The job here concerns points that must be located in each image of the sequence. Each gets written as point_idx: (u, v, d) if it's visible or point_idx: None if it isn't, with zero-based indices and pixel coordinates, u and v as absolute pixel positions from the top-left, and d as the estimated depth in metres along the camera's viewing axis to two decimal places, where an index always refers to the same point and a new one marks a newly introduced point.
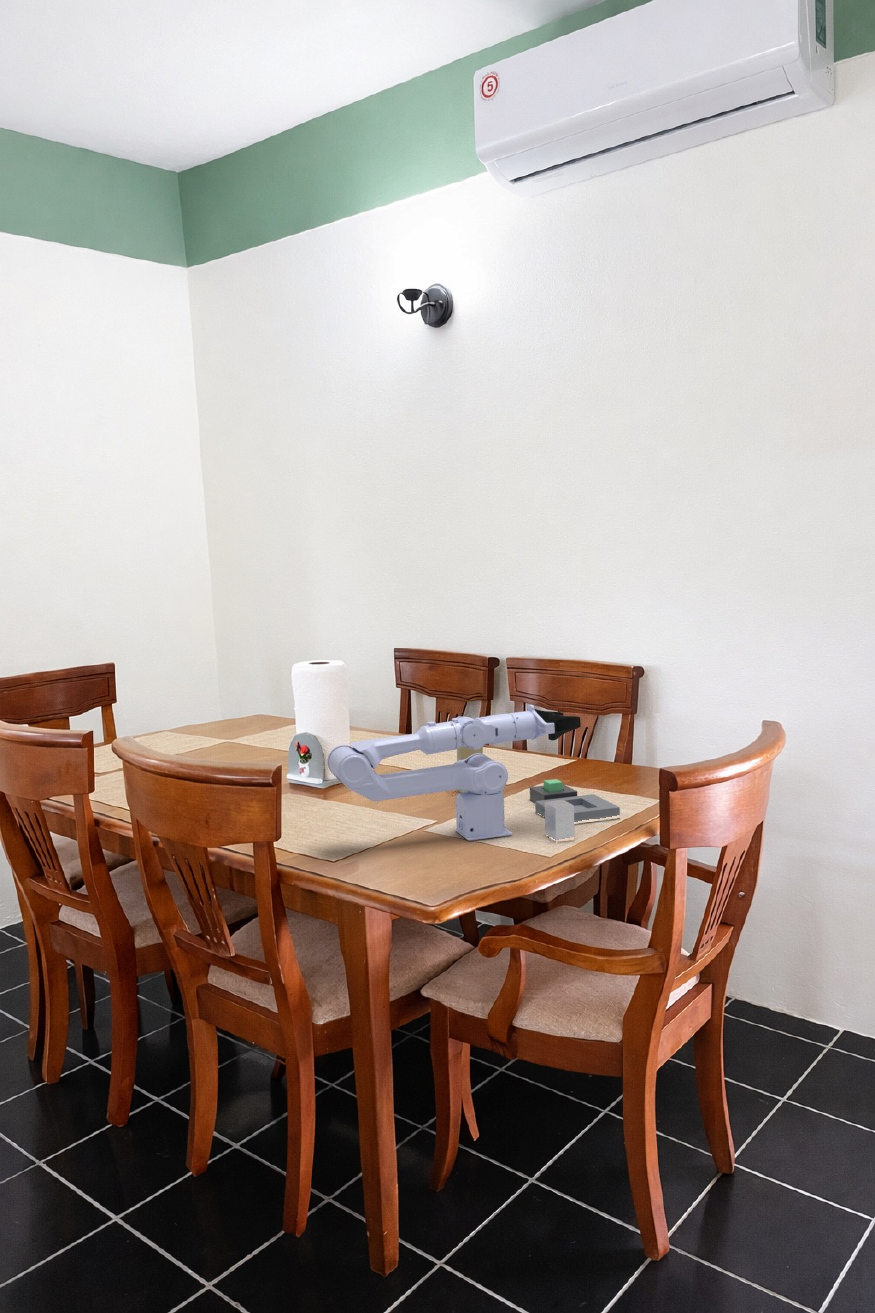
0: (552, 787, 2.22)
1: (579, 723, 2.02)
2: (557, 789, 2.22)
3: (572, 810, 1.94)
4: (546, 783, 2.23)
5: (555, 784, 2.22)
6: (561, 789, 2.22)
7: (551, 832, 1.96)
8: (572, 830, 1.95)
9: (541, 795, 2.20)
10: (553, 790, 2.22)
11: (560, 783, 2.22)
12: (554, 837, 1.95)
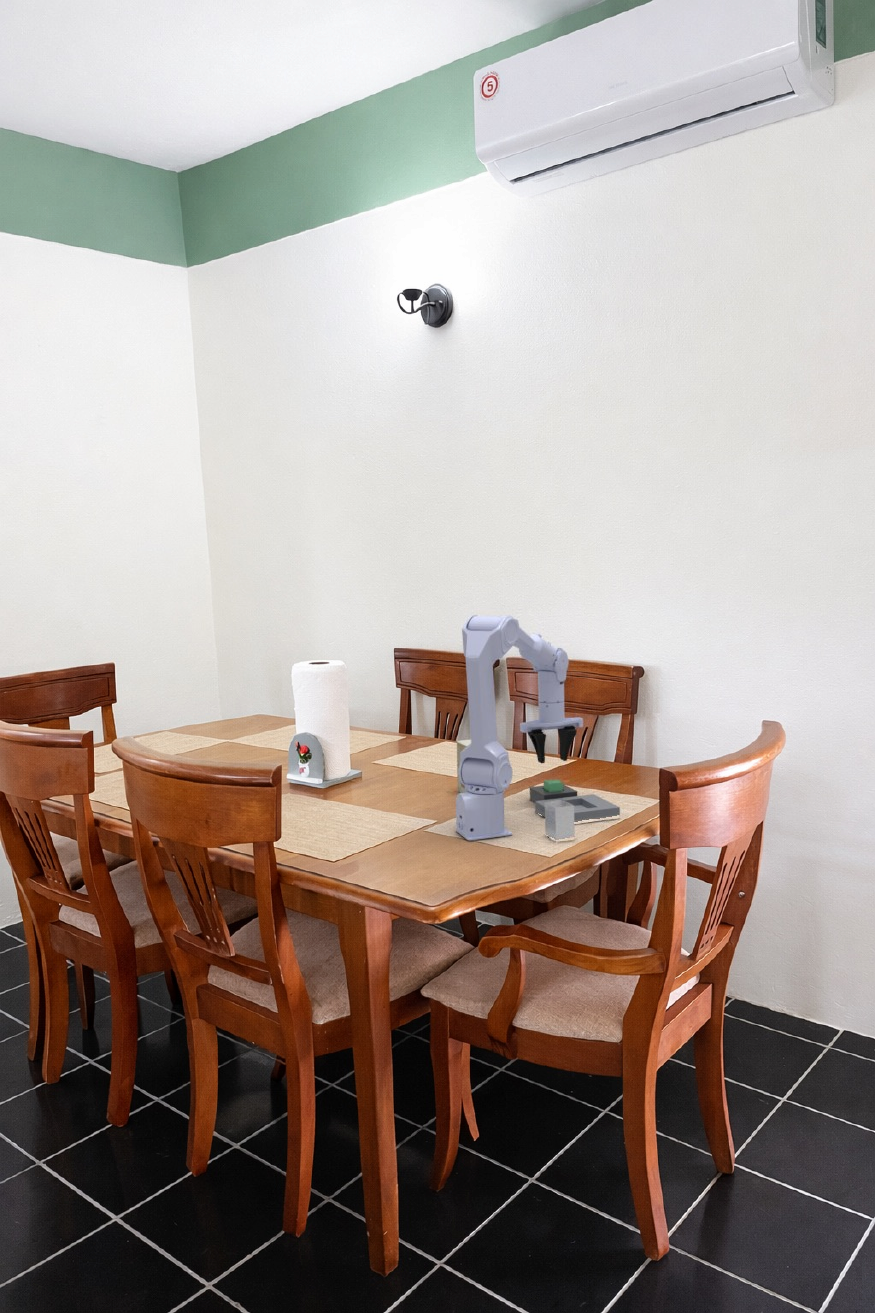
0: (552, 787, 2.22)
1: None
2: (557, 789, 2.22)
3: (572, 810, 1.95)
4: (546, 783, 2.23)
5: (555, 784, 2.22)
6: (561, 789, 2.22)
7: (551, 832, 1.96)
8: (572, 830, 1.95)
9: (541, 795, 2.20)
10: (553, 790, 2.22)
11: (560, 783, 2.22)
12: (554, 837, 1.95)
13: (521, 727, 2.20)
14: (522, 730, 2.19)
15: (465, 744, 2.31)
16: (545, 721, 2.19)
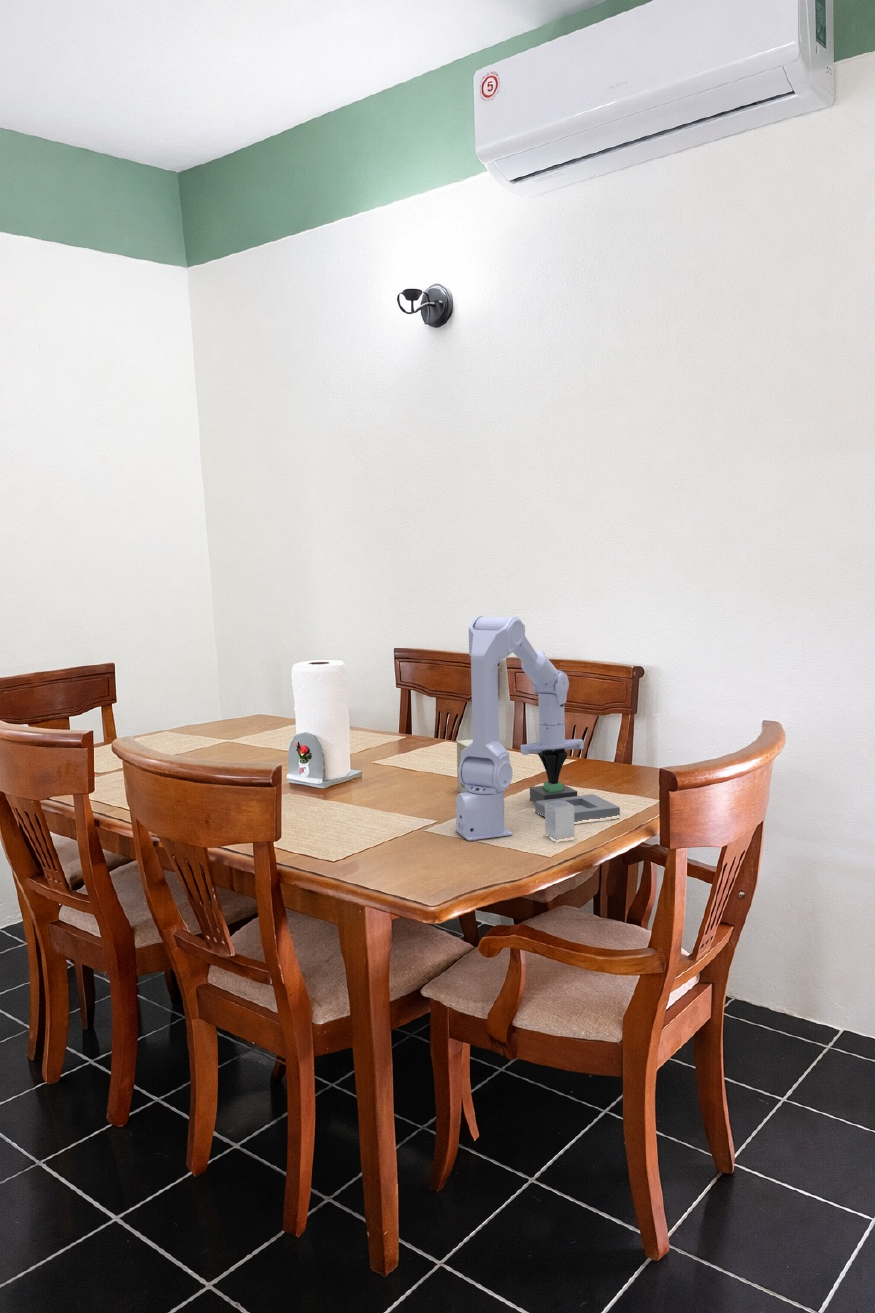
0: (552, 789, 2.22)
1: None
2: None
3: (572, 810, 1.94)
4: (546, 785, 2.23)
5: (555, 786, 2.22)
6: None
7: (551, 832, 1.96)
8: (572, 830, 1.95)
9: (541, 795, 2.20)
10: None
11: (560, 785, 2.22)
12: (554, 837, 1.95)
13: (522, 749, 2.20)
14: (523, 752, 2.20)
15: (465, 744, 2.31)
16: (546, 743, 2.20)
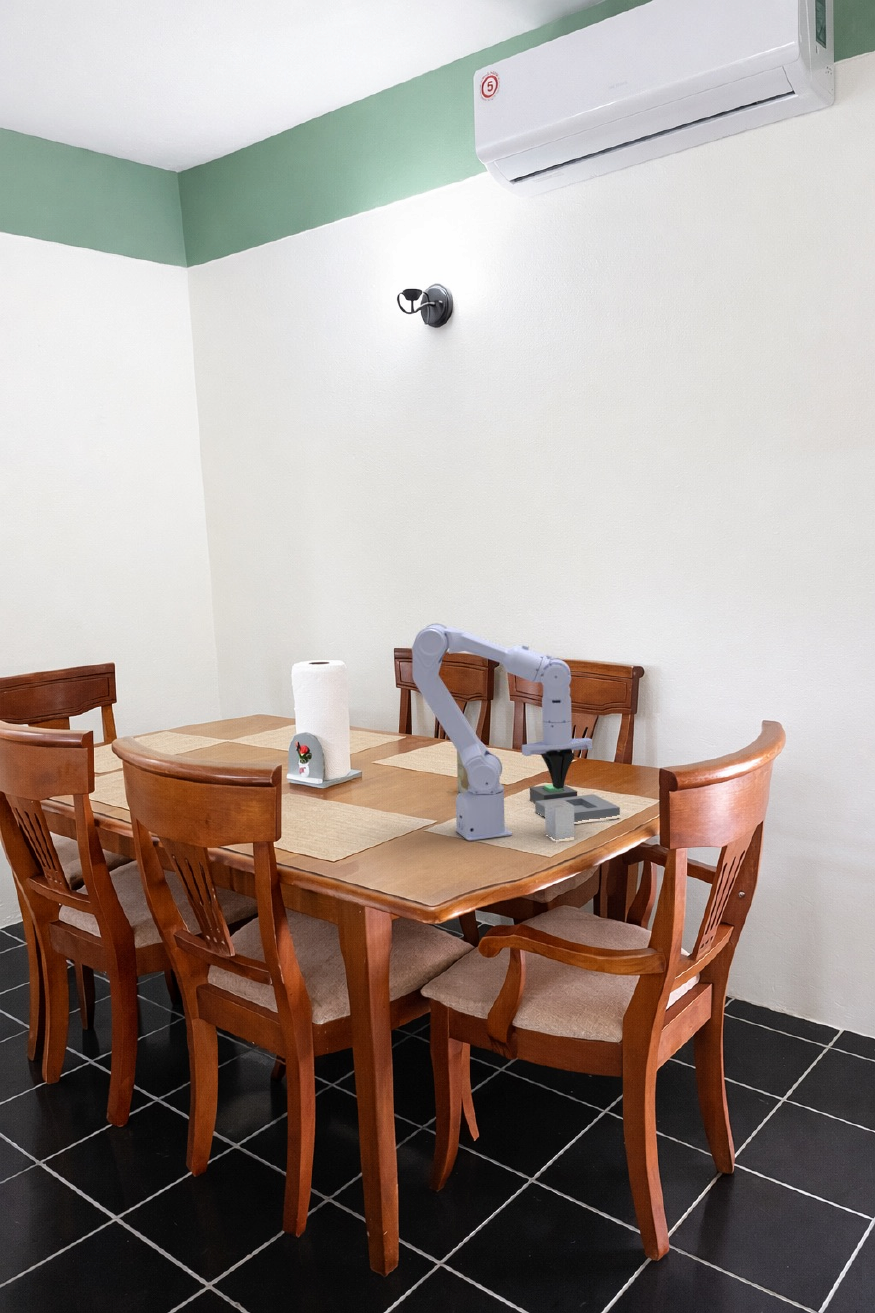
0: None
1: None
2: None
3: (572, 810, 1.94)
4: (546, 788, 2.23)
5: (555, 789, 2.22)
6: None
7: (551, 832, 1.96)
8: (572, 830, 1.95)
9: (541, 795, 2.20)
10: None
11: None
12: (554, 837, 1.95)
13: (523, 750, 1.96)
14: (524, 753, 1.95)
15: None
16: (550, 743, 1.96)
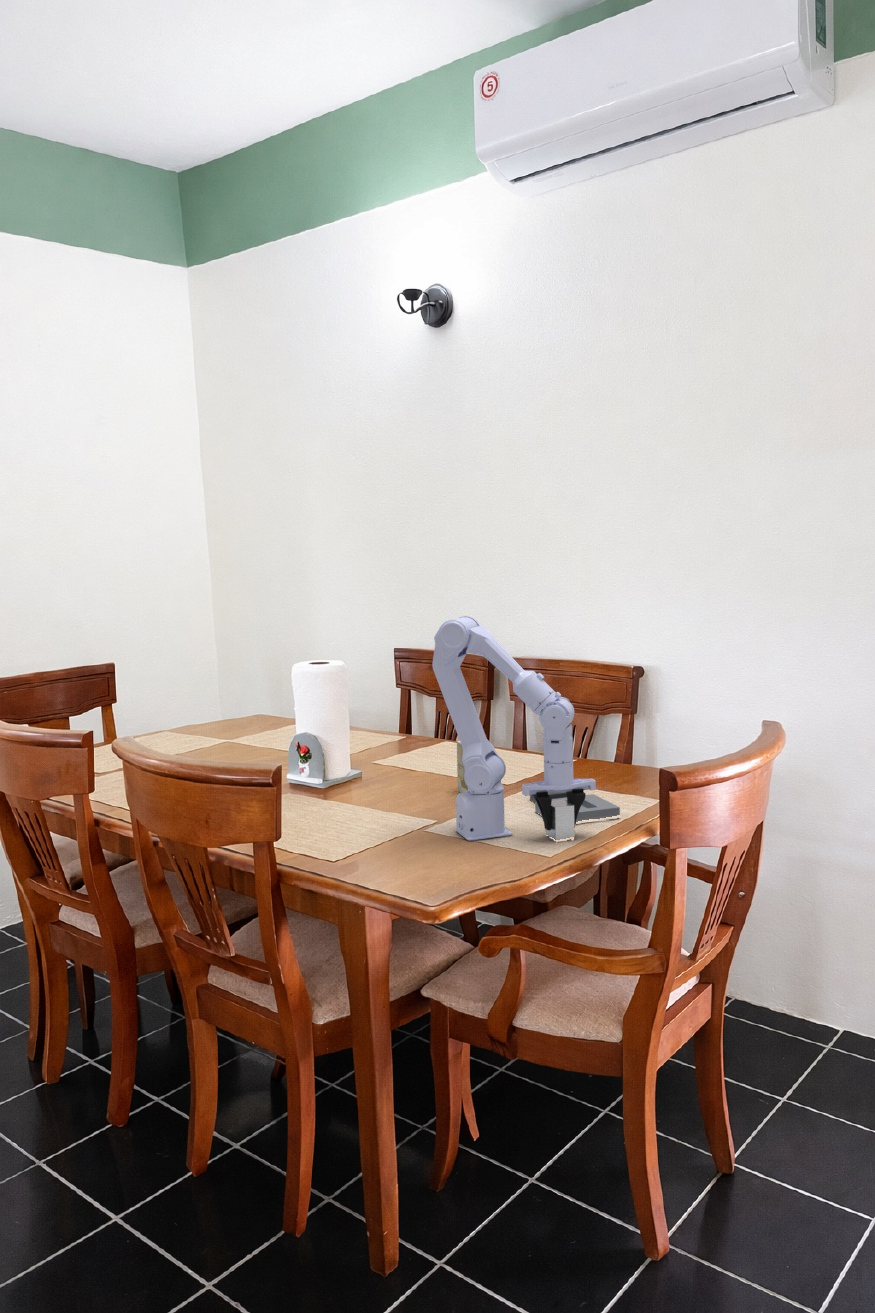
0: None
1: None
2: None
3: (572, 810, 1.94)
4: None
5: None
6: None
7: (552, 832, 1.96)
8: (572, 830, 1.95)
9: None
10: None
11: None
12: (554, 837, 1.95)
13: (523, 789, 1.95)
14: (524, 793, 1.94)
15: None
16: (550, 783, 1.94)
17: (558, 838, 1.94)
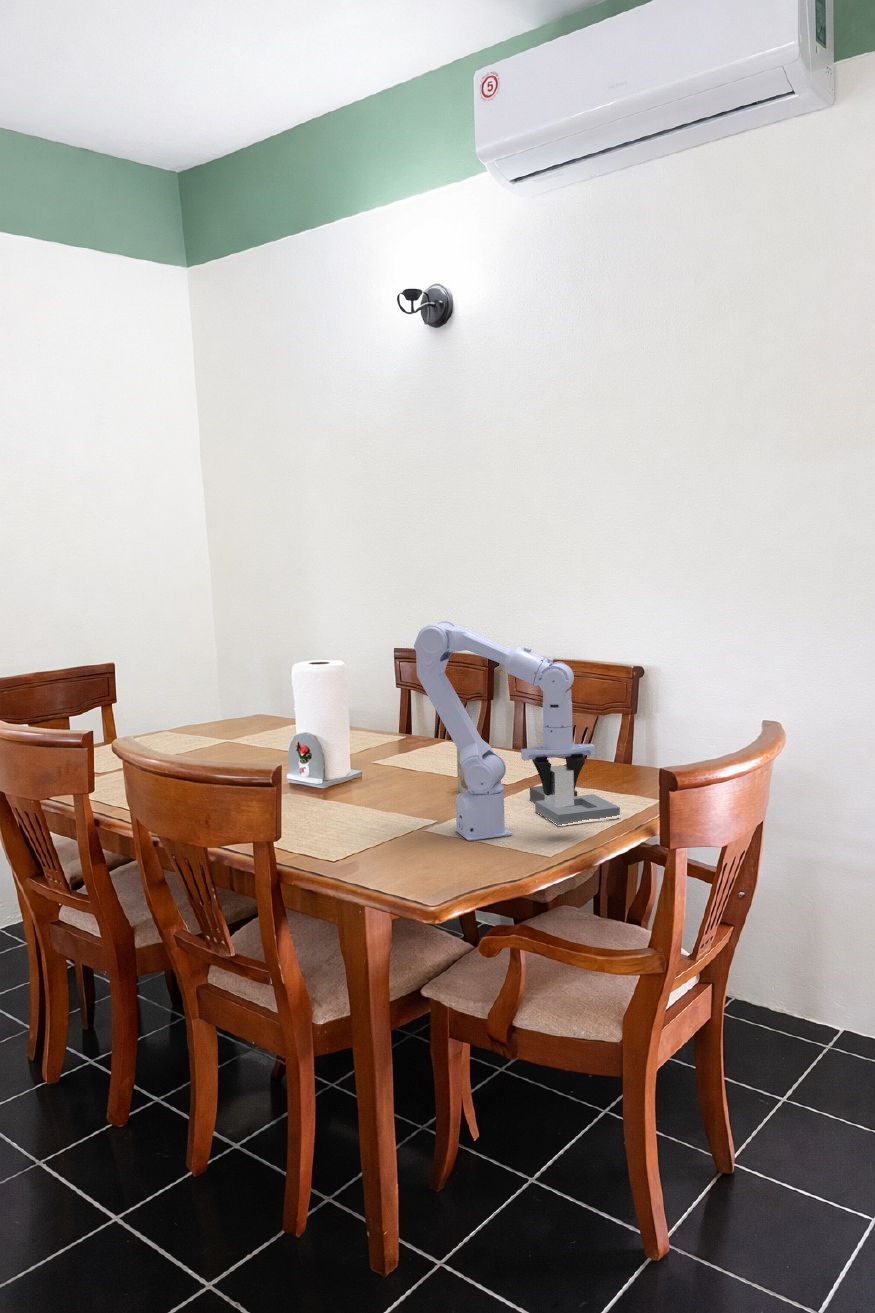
0: None
1: None
2: None
3: (572, 775, 1.94)
4: None
5: None
6: None
7: (551, 797, 1.95)
8: (571, 795, 1.94)
9: (541, 795, 2.20)
10: None
11: None
12: (553, 802, 1.94)
13: (522, 754, 1.94)
14: (523, 757, 1.93)
15: None
16: (549, 748, 1.93)
17: (557, 803, 1.93)
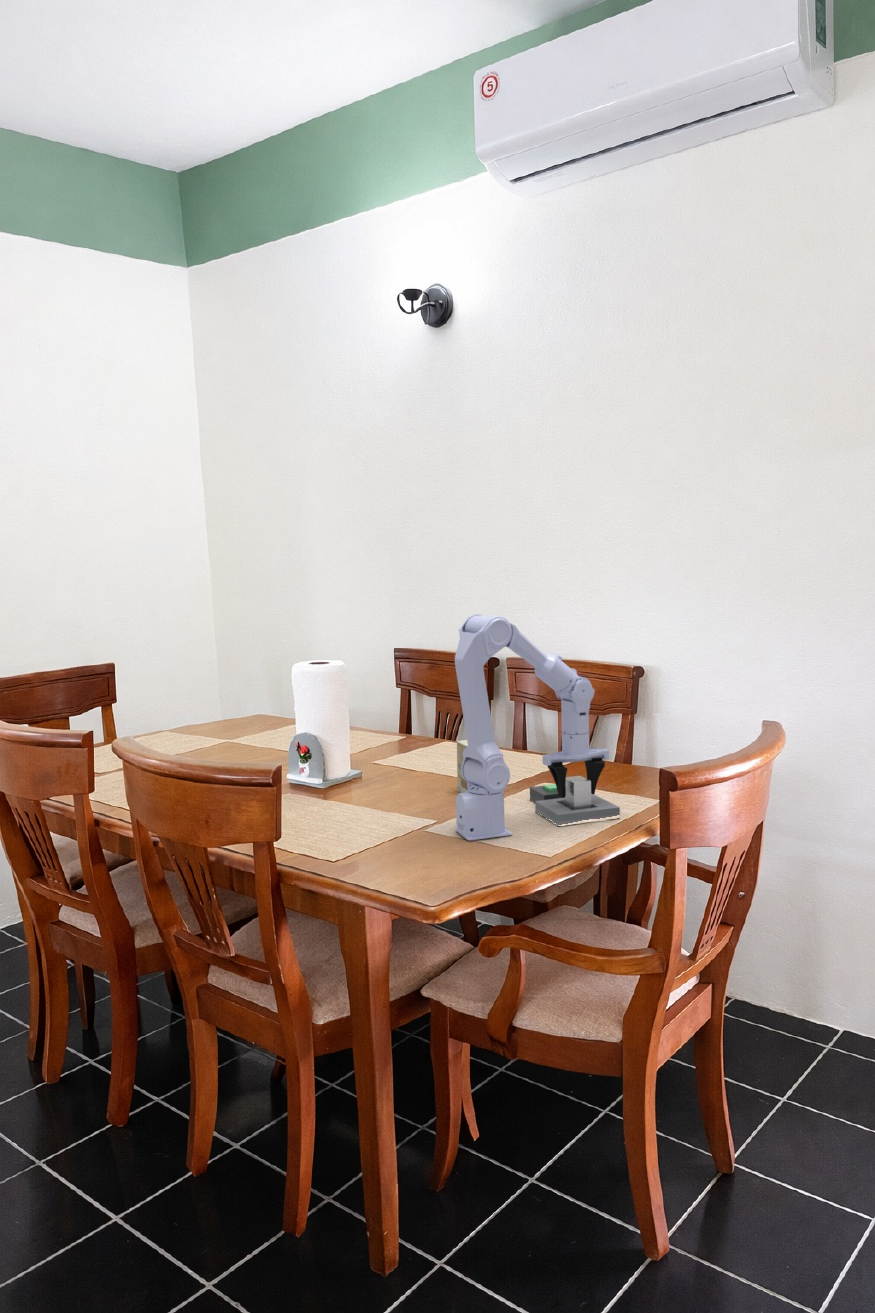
0: None
1: None
2: None
3: (589, 785, 2.10)
4: (546, 788, 2.23)
5: (555, 789, 2.22)
6: None
7: (570, 806, 2.11)
8: (589, 803, 2.10)
9: (541, 795, 2.20)
10: None
11: None
12: None
13: (544, 759, 2.09)
14: (545, 763, 2.08)
15: (465, 744, 2.31)
16: (569, 753, 2.08)
17: None
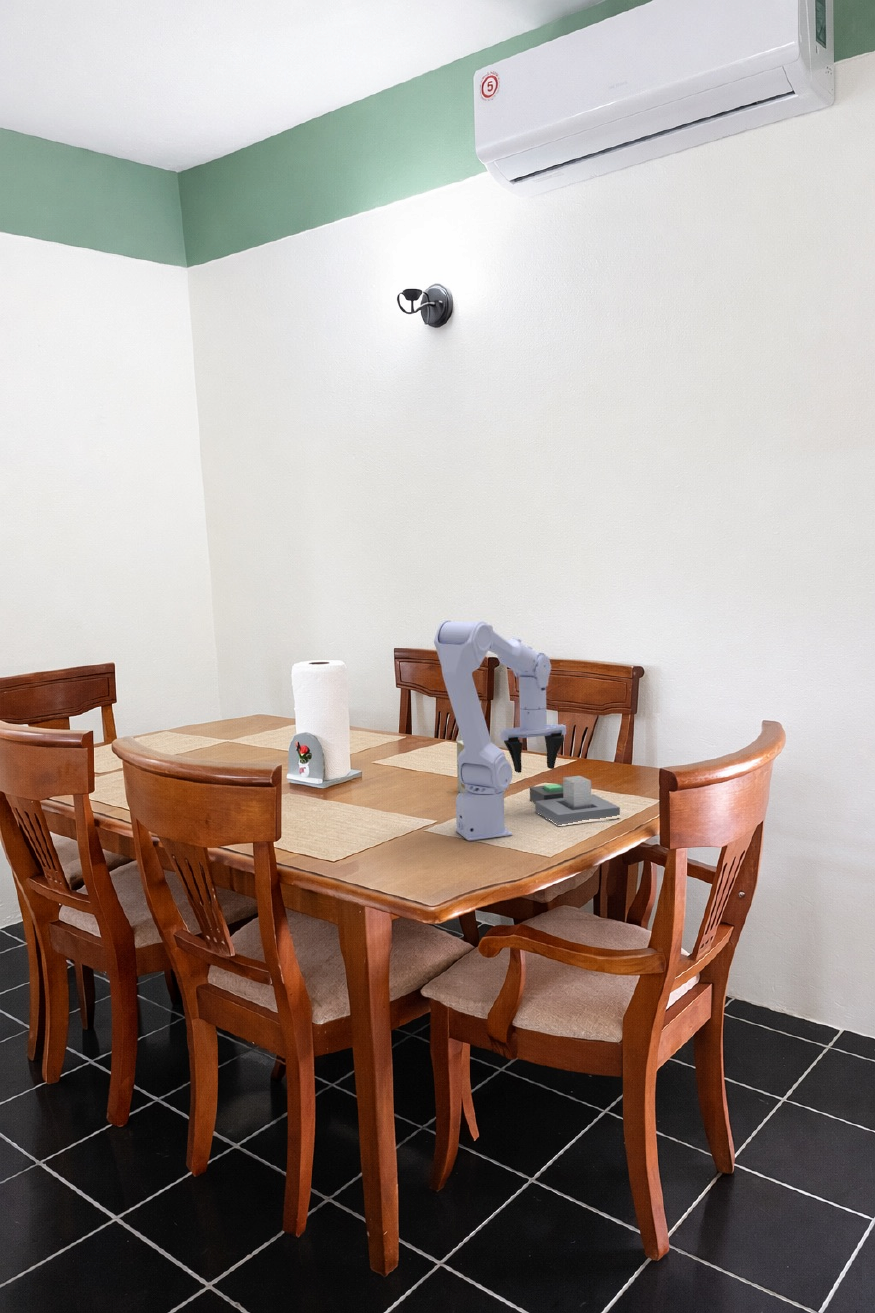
0: None
1: None
2: None
3: (589, 785, 2.10)
4: (546, 788, 2.23)
5: (555, 789, 2.22)
6: None
7: (570, 806, 2.11)
8: (589, 803, 2.10)
9: (541, 795, 2.20)
10: None
11: (560, 788, 2.22)
12: None
13: (501, 735, 2.12)
14: (502, 738, 2.11)
15: None
16: (526, 728, 2.11)
17: None
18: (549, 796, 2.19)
